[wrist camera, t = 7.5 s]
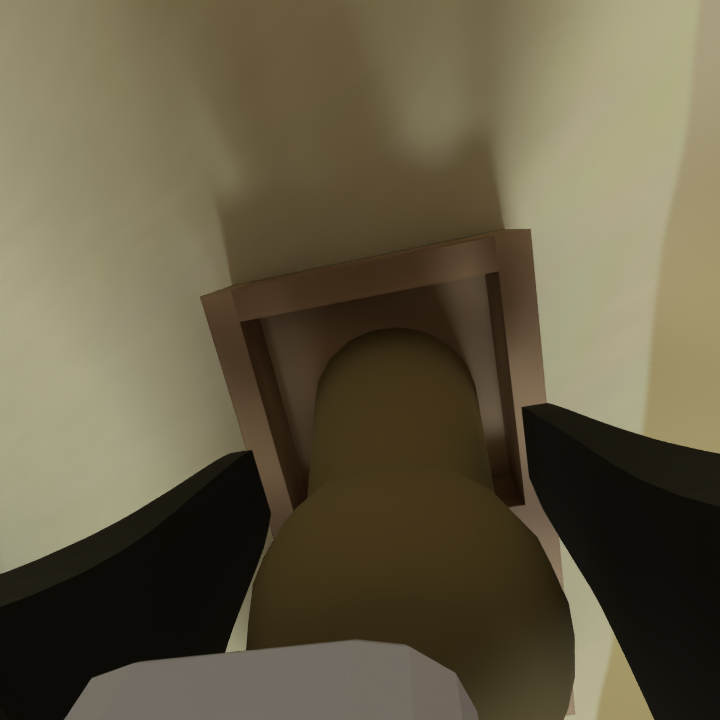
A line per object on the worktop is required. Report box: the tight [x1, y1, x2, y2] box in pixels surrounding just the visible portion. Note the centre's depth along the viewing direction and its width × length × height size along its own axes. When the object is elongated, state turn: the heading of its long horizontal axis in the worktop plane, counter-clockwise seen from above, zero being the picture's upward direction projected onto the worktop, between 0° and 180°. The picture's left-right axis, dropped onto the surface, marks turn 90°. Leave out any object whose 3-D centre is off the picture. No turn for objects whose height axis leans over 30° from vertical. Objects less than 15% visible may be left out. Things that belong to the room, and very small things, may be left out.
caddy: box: [200, 229, 575, 715], centre depth 17 cm, size 19×10×3 cm, turn 12°
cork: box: [246, 327, 575, 720], centre depth 11 cm, size 6×6×11 cm
